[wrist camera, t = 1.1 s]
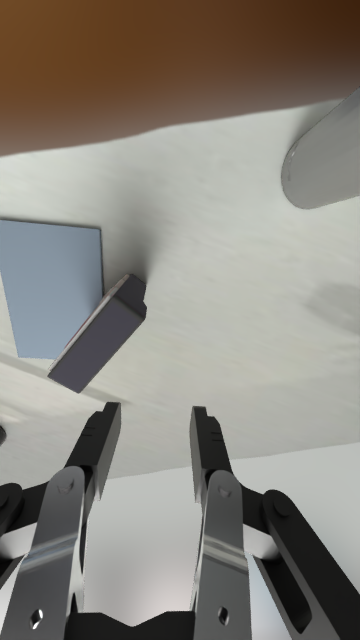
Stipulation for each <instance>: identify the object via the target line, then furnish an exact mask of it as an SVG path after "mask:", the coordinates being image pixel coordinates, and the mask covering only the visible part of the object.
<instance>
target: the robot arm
mask: <svg viewBox="0 0 360 640" xmlns="http://www.w3.org/2000/svg"><path fill="white" fill-rule="evenodd" d="M281 178H282V187H283V191H284V193H285V195H286V197H287V199H288V200H289V201H290V202H291V203H292V204H293V205H295V206H296V207H299V208H302V209H313V208H318V207H321V206H325V205H328V204H332V203H336V202H339V201H343V200H346V199H350V198H353V197H357V196H360V87H359V88H358V89H356V90H355V91H354V92H353V93H352V94H351V95H350V96H348V97H347V98H346V99H345V100H344V101H343V102H341V103H340V104H339V105H338V106H337V107H336V108H334V109H333V110H332V111H331V112H330V113H329V114H328V115H326V116H325V117H324V118H323V119H322V120H321V121H319V122H318V123H317V124H316V125H315V126H314V127H312V128H311V129H310V130H309V131H308V132H307V133H306V134H304V135H303V136H302V137H301V138H300V139H299V140H298V141H297V142H296V143H295V144H294V145H293V146H292V148H291V149H290V151H289V152H288V154H287V156H286V158H285V161H284V164H283V168H282V175H281ZM120 429H121V403H120V402H107V403H106V405H105V407H104V410H103V412H100V411H96V412H95V413H94V414H93V415H92V416H91V417H90V418H89V419H88V421H87V423H86V425H85V427H84V429H83V431H82V433H81V435H80V437H79V439H78V441H77V443H76V445H75V447H74V449H73V451H72V453H71V455H70V457H69V459H68V461H67V463H66V465H65V466H64V468H63V469H62V470H60V471H59V472H57V473H56V474H55V475H54V476H53V477H52V478H51V480H50V481H48V482H46V483H43V484H41V485H37V486H34V487H31V488H27V489H24V490H22V488H21V486H20V485H19V484H16V483H8V484H4V485H1V486H0V589H1V588H2V586H3V585H4V584H5V582H6V581H7V579H8V578H9V577H10V575H11V573H12V572H13V571H14V569H15V568H16V567H17V565H18V563H19V562H20V561H21V560H22V558H23V557H24V555H25V554H26V553H29V554H28V556H27V557H26V558H24V560H23V561H22V563H21V565H20V568H19V571H18V574H17V577H16V581H15V584H14V588H13V592H12V595H11V599H10V602H9V606H8V610H7V613H6V617H5V620H4V623H3V627H2V630H1V634H0V640H252V631H251V610H250V589H249V570H248V562H247V559H246V558H245V555H244V551H246V552H248V553H250V554H252V555H253V558H254V560H255V562H256V564H257V566H258V568H259V570H260V572H261V575H262V576H263V579H264V581H265V583H266V585H267V587H268V589H269V592H270V594H271V596H272V598H273V600H274V602H275V604H276V606H277V609H278V611H279V613H280V615H281V617H282V619H283V621H284V623H285V625H286V628H287V630H288V632H289V634H290V636H291V638H292V640H360V594H359V593H358V591H357V590H356V589H355V587H354V586H353V585H352V583H351V582H350V580H349V579H348V578H347V576H346V575H345V573H344V572H343V571H342V569H341V568H340V567H339V565H338V564H337V562H336V561H335V560H334V558H333V557H332V555H331V554H330V553H329V552H328V550H327V549H326V547H325V546H324V545H323V543H322V542H321V540H320V539H319V537H318V536H317V535H316V533H315V532H314V531H313V529H312V528H311V526H310V525H309V524H308V522H307V521H306V520H305V518H304V517H303V515H302V514H301V513H300V511H299V510H298V508H297V507H296V506H295V504H294V503H293V502H292V500H291V499H290V498H289V497H288V496H286V495H285V494H284V493H282V492H280V491H278V490H268V491H266V492H265V493H264V495H263V494H260V493H258V492H255V491H253V490H250V489H248V488H246V487H244V486H243V485H242V484H241V483H240V482H239V481H238V480H237V479H236V477H235V476H234V474H233V472H232V469H231V465H230V461H229V458H228V454H227V450H226V446H225V443H224V439H223V435H222V431H221V427H220V424H219V423H218V421H217V420H216V418H215V417H211V416H207V412H206V407H202V406H193V407H192V414H191V421H190V446H191V458H192V469H193V481H194V491H195V503H201V504H202V519H201V527H200V536H199V544H198V552H197V561H196V568H195V576H194V583H193V590H192V597H191V604H190V611H171V612H170V611H167V612H164V613H163V614H160V615H158V616H156V617H154V618H152V619H150V620H147V621H145V622H143V623H141V624H139V625H137V626H134V627H130V626H128V625H125V624H124V623H121V622H119V621H117V620H115V619H113V618H111V617H109V616H107V615H105V614H103V613H83V609H84V574H85V561H86V548H87V536H88V523H89V513H90V510H91V506H92V503H93V501H100V499H101V495H102V492H103V489H104V485H105V482H106V479H107V475H108V472H109V468H110V465H111V461H112V458H113V455H114V451H115V448H116V444H117V441H118V437H119V434H120Z"/></svg>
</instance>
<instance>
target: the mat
mask: <svg viewBox="0 0 360 640" xmlns="http://www.w3.org/2000/svg"><path fill="white" fill-rule="evenodd" d="M0 272H1V276H2V281H3V286H4V291H5V296H6V300H7V305H8V310H9V315H10V320H11V324H12V329H13V334H14V339H15V344H16V348H17V353H18V357H23V358H40V359H56V358H57V357H58V356H59V355H60V354H61V352H62V351H63V350H64V349H65V348H64V347H65V346H66V345H67V344H68V342H69V341H70V340H71V339H72V337H73V336H74V335H75V334H76V333H77V331H78V330H79V329H80V326H81V325H82V324H83V323H84V322H85V320H86V319H87V318H88V317H89V315H90V314H91V313H92V312H93V311H94V310H95V309H96V308H97V307H98V305H99V304H100V303H99V302H100V301H101V300H102V298H103V276H102V253H101V230H99V229H89V228H78V227H68V226H57V225H47V224H36V223H26V222H16V221H5V220H0Z"/></svg>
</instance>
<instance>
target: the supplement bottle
mask: <svg viewBox="0 0 360 640" xmlns="http://www.w3.org/2000/svg"><path fill="white" fill-rule="evenodd" d="M5 438H6V435H5V432H4V430H3V429H2V428H1V427H0V446H1V445H2V444H3V443H4V441H5Z"/></svg>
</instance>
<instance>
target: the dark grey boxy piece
mask: <svg viewBox="0 0 360 640" xmlns="http://www.w3.org/2000/svg"><path fill="white" fill-rule="evenodd" d="M145 290H146V285H145V284H144V283H143V282H142V281H140V280H139V279H138V278H137V277H136V276H134V275H133V274H131V275H130V276H129V275H128V274H126V275H125V276H124V277H123V278H122V279H121V280H120V281H118V282H117V283H116V285H115V286H114V287H113V288H112V287H111V289H110V290H109V291H108V292H107V293H106V295H105V296H104V297H103V298H102V300H101V301H100V302H99V303H100V304H99V305H98V307H97V308H96V309H95V310H94V311H93V312H92V313H91V314H90V315H89V317H88V318H87V319H86V320H85V322H84V323H83V324H82V325H81V326H80V329H79V330H78V331H77V333H76V334H75V335H74V336H73V337H72V339H71V340H70V341H69V342H68V344H67V345H66V346H65V347H64V348H65V349H64V350H63V351H62V352H61V354H60V355H59V356H58V357H57V358H56V360H55V361H54V362H53V363H52V365H51V366H50V367H49V369H48V370H50V371H51V372H50V373H49V374H48V377H49V378H50V379H52V380H54V381H56V382H58V383H60V384H61V385H63V386H65V387H67V388H69V389H71V390H72V391H74V392H76V393H80V392H81V391H82V390H83V389H84V388H85V387H86V386H87V385H88V383H89V382H90V381H91V380H92V379H93V378H94V377H95V376H96V374H97V373H98V372H99V371H100V370H101V369H102V368H103V366H104V365H105V364H106V363H107V362H108V361H109V360H110V359H111V357H112V356H113V355H114V354H115V353H116V352H117V351H118V349H119V348H120V347H121V346H122V345H123V344H124V343H125V342H126V340H127V339H128V338H129V337H130V336H131V335H132V334H133V333H134V331H135V330H136V329H137V328H138V327H139V326H140V325H141V323H142V322H143V321H144V320H145V318H146V311H147V307H146V305H145V304H144V302H143V300H144V295H145Z"/></svg>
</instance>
